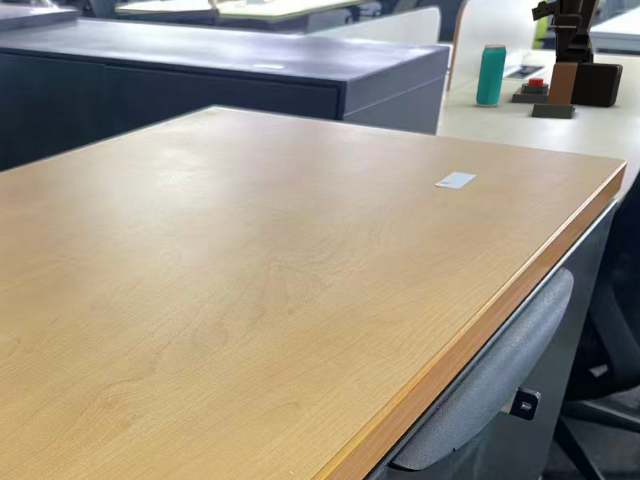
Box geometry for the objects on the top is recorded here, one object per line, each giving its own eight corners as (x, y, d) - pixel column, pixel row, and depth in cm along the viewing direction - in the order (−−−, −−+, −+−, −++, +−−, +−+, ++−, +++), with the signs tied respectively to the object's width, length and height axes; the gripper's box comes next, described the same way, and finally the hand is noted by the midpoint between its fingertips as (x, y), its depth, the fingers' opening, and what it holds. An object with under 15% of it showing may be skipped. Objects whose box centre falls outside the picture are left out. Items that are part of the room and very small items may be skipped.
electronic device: (574, 102, 227) (582, 62, 223) (615, 105, 221) (623, 64, 216) (568, 104, 225) (576, 64, 220) (608, 108, 218) (617, 66, 214)
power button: (528, 84, 233) (530, 77, 232) (543, 85, 232) (544, 78, 231) (526, 86, 231) (528, 79, 230) (541, 87, 229) (542, 80, 228)
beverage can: (497, 104, 229) (507, 44, 222) (498, 108, 224) (507, 46, 217) (474, 104, 230) (483, 44, 224) (475, 107, 226) (483, 47, 219)
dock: (536, 110, 219) (538, 98, 217) (574, 112, 215) (577, 100, 213) (531, 116, 212) (533, 104, 211) (570, 118, 208) (573, 106, 207)
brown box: (548, 107, 223) (556, 62, 218) (569, 108, 220) (577, 62, 215) (545, 110, 219) (553, 64, 214) (567, 111, 217) (575, 65, 211)
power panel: (518, 95, 239) (520, 80, 238) (553, 97, 235) (556, 81, 233) (511, 102, 230) (513, 87, 228) (547, 104, 226) (550, 88, 224)
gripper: (536, -9, 225) (524, 54, 231) (538, -12, 209) (525, 56, 215) (582, -9, 221) (569, 56, 228) (588, -11, 205) (574, 58, 212)
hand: (558, 56), depth 221 cm, fingers open, 9 cm apart
